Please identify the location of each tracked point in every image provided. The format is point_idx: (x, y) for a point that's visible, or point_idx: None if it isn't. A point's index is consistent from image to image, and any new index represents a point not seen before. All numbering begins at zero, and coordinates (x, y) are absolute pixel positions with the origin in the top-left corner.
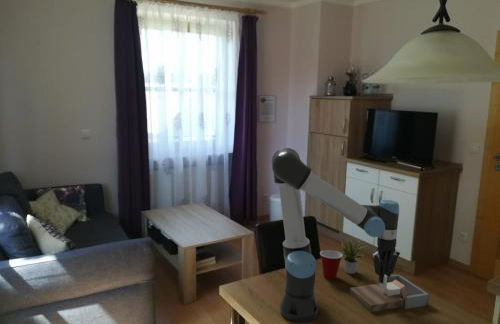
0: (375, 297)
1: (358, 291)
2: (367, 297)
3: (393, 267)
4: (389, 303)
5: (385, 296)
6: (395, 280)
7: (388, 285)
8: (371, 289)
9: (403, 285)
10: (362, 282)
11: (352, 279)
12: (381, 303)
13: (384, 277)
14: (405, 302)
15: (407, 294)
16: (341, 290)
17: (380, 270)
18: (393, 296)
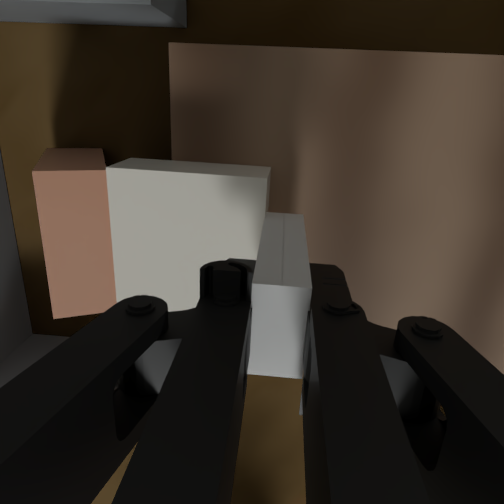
0: (417, 185)
1: (481, 327)
2: (495, 211)
3: (66, 371)
4: (351, 50)
5: (305, 166)
6: (65, 307)
7: (193, 266)
8: None
9: (42, 187)
10: (252, 445)
11: (292, 493)
12: (460, 56)
13: (311, 283)
14: (171, 9)
15: (48, 152)
16: None
17: (454, 384)
18: (225, 139)
